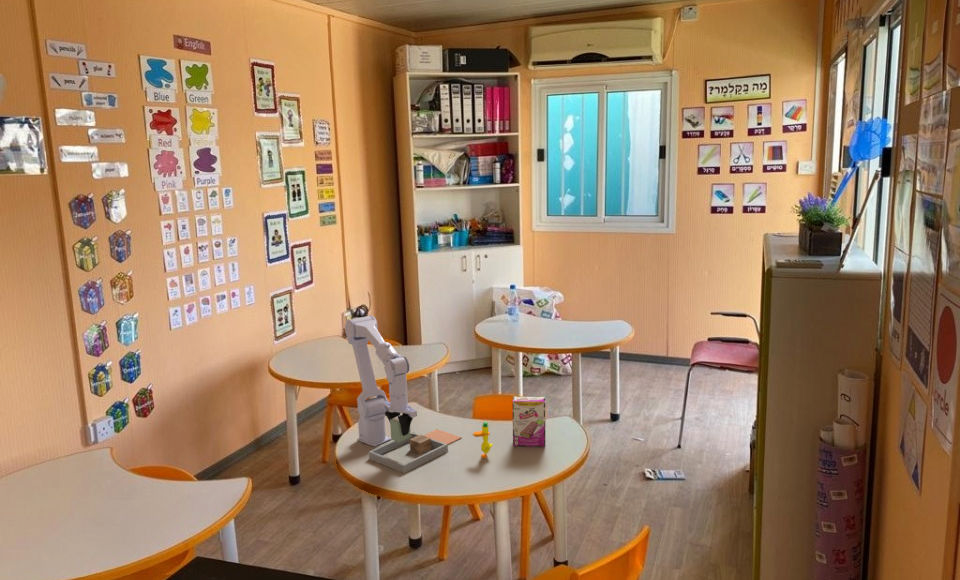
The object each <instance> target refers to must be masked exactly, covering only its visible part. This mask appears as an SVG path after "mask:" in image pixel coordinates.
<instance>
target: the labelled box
mask: <svg viewBox="0 0 960 580" xmlns="http://www.w3.org/2000/svg"><path fill="white" fill-rule="evenodd" d="M400 415H401V414H400ZM400 415H399V416H400ZM389 424H390V438H391V441H397V442H399V443H400V442H402V441H404V440H406V439H408V438H411V433H412V431H411V427H410V428H409V433H408V434H407V435H405V436H403V435H402V431H401V424H400V421H399V419H398V416H397V417H395V418H392V419H390V422H389Z"/></svg>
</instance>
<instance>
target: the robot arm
mask: <svg viewBox="0 0 960 580" xmlns="http://www.w3.org/2000/svg"><path fill="white" fill-rule="evenodd" d="M378 327H379V326H378V321H377V319H376V317H375V316H373V314H372V315H370V314H369V316H368V315H367V316H362V317H357V318H350V319H347V320H346V321H345V325H344V332H345V336H346V340H347V343H348V344H350V345H352V349H353V355H354V358H355V363H356V366H357V370H358V375H359V380H360V384H361V388H362V391H361V393H360V394H359V395H358V397H357V398H356V401H357V413H358V415H359V419H358V421H357V422H358V425H357V426H358V428H357V429H358V438H357V439H356V440H357V441H359V442H362V443H363V444H367V445H369V446H371V447H378V446H380V445H382V444H384V443H386V442H388V441H390V440H391V436H387V434H386V419H385V418H387V419H388V421H389V423H390V419H392V418H395V417H397V416H398V419H399V421H400V424H401V431H402V435H403V436H405V435H407V434H408V433H409V428H410V429H411V423H412V421H413V419H414V418H416V417H418V410H416V409H414V408H413V407H411V406H410V405H409V404H408V403H409V401H408V384H407V374H408V373H409V371H410V363H409V360H408V359H407V356H405V355H402V354H399V353H398V352H397V350H396V349H395V348H394V347H393V345H392V344H391V343H390V342H386V341H385V339H384V338H383V336H382V335H381V333H380V332H379V329H378ZM369 342H370V344H371V345H372V346H373V347H374V348H375V355H376V356H377V357H378V359H379V360H380V361H381V363H382V364H383V366H384V367H383V368H384V372H385V374H386V380H387V382H388V390H389V391H388V393H389V399H388V398H387V395H386V393H385V391H384V390H382V389H380V388H378V386H377V381H376V377H375V373H374V369H373V364H372V360H371V356H370V352H369V347H368V343H369ZM372 397H373V398H372ZM399 415H400V416H399ZM391 441H392V440H391Z"/></svg>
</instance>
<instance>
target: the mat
mask: <svg viewBox="0 0 960 580" xmlns="http://www.w3.org/2000/svg"><path fill="white" fill-rule="evenodd" d="M423 436H426V437H429V438H431V439H434V440H437V441H440V442H442V443H445V444H448V446H449V445H450V444H453V443H456V442H457V441H459V440H461V439H462V437H461V436H459V435H455V434H452V433H450V432H447V431H443V430H441V429H434V430H432V431H430V432H428V433H425V434H423Z"/></svg>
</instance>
